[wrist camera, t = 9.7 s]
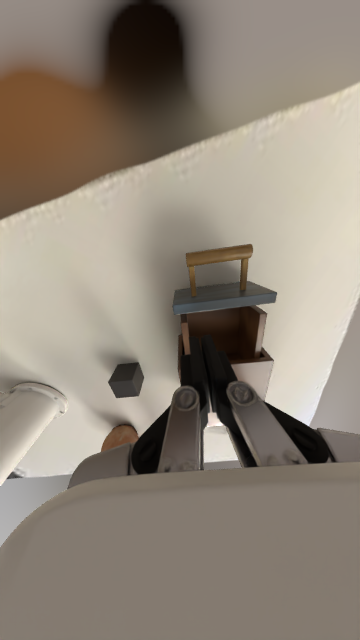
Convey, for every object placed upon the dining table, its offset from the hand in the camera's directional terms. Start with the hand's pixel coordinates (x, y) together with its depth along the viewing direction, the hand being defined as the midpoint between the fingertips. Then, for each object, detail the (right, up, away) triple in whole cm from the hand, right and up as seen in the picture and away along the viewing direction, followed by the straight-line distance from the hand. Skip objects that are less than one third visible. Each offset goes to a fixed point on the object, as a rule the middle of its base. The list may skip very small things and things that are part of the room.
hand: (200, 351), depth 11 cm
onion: (-17, -29, +29) cm, 45 cm away
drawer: (+4, +4, +12) cm, 13 cm away
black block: (-12, -9, +19) cm, 24 cm away
